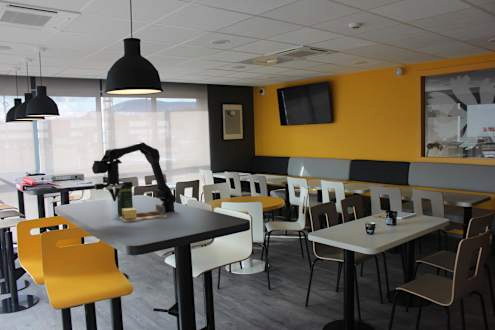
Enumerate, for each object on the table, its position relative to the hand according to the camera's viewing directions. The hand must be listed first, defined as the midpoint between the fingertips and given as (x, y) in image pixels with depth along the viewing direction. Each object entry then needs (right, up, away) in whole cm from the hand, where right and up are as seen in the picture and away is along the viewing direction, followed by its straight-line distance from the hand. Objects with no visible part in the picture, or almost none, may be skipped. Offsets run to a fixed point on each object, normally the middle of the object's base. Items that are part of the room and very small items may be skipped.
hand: (114, 201), depth 214 cm
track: (+13, -10, +8) cm, 18 cm away
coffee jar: (-1, -10, +22) cm, 24 cm away
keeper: (+7, -9, +4) cm, 12 cm away
